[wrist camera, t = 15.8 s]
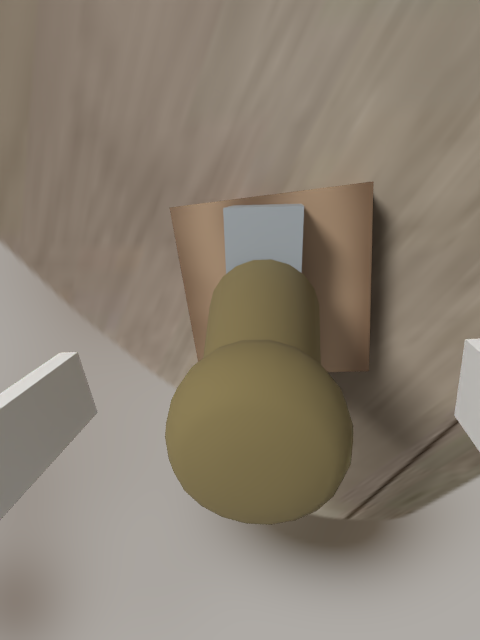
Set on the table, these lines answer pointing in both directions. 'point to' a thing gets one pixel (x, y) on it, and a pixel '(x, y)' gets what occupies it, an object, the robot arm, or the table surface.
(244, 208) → the slate-grey block
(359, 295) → the wooden flat board
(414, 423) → the table surface
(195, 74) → the table surface
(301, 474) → the olive ball-ended rod
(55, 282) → the table surface
